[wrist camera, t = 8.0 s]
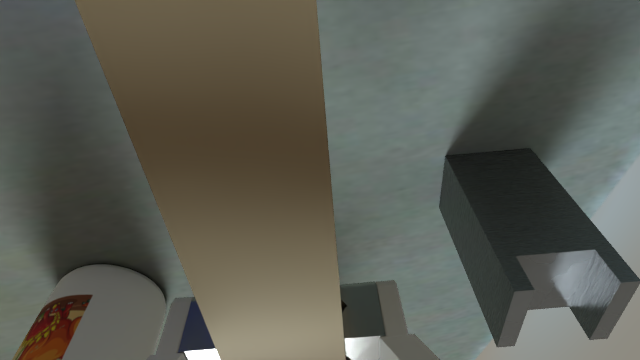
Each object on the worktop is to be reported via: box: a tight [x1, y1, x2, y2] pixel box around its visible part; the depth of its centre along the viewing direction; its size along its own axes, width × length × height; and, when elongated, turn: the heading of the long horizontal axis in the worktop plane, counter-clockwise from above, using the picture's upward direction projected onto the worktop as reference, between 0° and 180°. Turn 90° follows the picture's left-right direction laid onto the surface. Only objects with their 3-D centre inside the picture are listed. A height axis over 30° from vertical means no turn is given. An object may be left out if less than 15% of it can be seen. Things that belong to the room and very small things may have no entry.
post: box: [439, 149, 640, 347], centre depth 22 cm, size 4×5×10 cm
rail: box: [75, 0, 346, 360], centre depth 11 cm, size 22×3×3 cm, turn 5°
